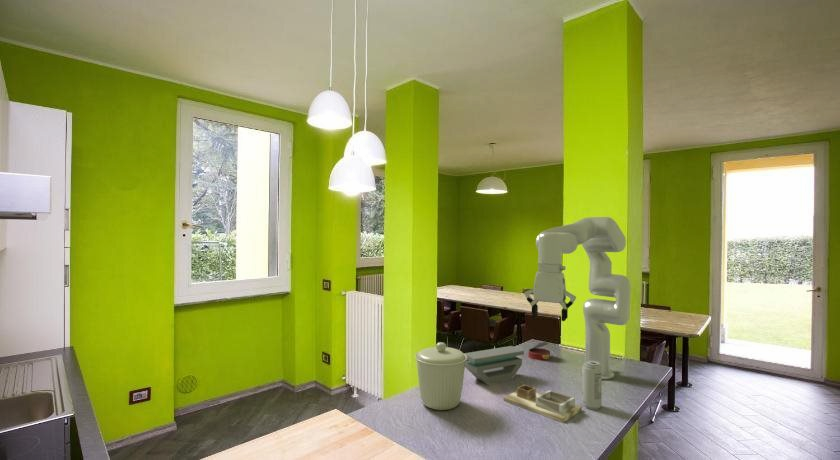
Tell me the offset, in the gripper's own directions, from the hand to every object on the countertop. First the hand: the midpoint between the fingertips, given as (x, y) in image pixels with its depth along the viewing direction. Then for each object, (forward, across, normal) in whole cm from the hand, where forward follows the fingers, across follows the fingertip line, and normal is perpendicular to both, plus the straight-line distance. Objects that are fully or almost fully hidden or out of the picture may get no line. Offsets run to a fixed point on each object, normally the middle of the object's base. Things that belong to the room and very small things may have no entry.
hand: (549, 318), depth 136 cm
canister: (+30, +31, +20) cm, 48 cm away
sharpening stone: (+30, +26, -13) cm, 41 cm away
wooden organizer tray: (+30, +2, +1) cm, 30 cm away
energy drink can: (+30, -12, -8) cm, 33 cm away
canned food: (+30, +19, -52) cm, 63 cm away
